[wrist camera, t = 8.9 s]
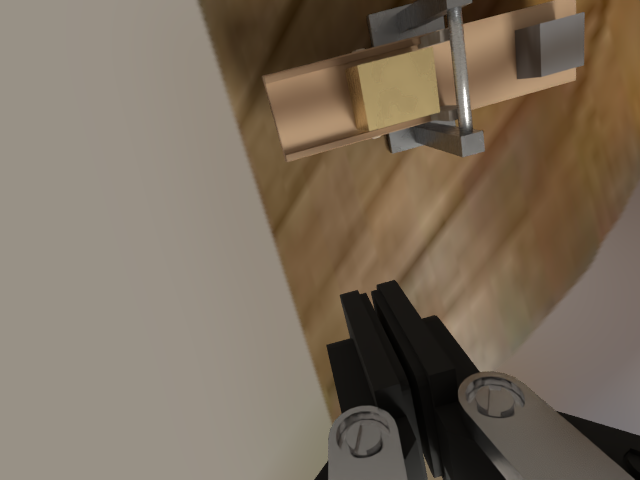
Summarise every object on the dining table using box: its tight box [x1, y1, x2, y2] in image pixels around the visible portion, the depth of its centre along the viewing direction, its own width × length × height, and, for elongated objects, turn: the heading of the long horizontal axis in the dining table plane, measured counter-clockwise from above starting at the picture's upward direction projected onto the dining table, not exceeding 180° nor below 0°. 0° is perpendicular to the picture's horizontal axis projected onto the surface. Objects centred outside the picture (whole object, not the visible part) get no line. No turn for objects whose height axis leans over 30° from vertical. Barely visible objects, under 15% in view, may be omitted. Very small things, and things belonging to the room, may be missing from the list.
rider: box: [345, 47, 440, 131], centre depth 31 cm, size 5×6×4 cm
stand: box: [367, 0, 485, 157], centre depth 34 cm, size 13×7×11 cm, turn 14°
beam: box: [262, 0, 584, 162], centre depth 32 cm, size 7×28×5 cm, turn 104°
